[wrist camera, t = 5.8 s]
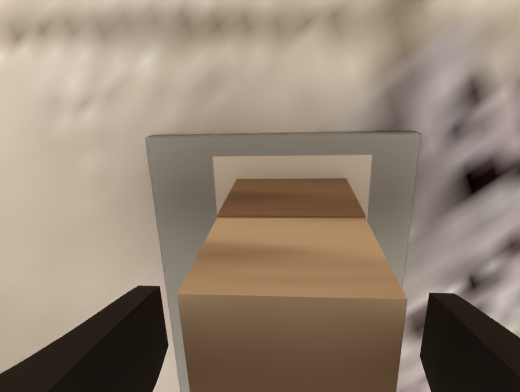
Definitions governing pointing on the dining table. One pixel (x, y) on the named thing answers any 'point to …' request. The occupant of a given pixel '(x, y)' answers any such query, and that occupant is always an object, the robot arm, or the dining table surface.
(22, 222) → the dining table surface
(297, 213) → the walnut block
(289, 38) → the dining table surface
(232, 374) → the maple block
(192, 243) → the board
